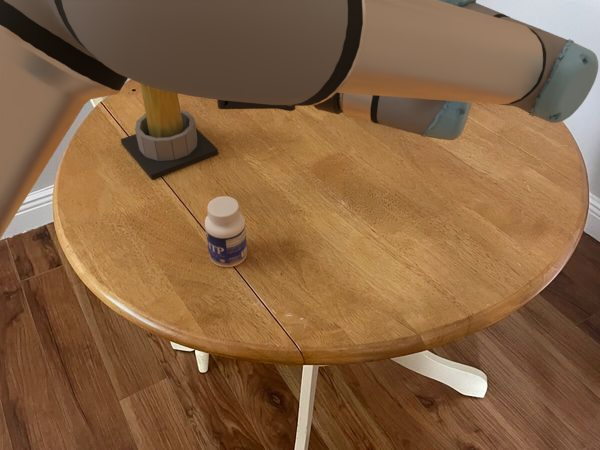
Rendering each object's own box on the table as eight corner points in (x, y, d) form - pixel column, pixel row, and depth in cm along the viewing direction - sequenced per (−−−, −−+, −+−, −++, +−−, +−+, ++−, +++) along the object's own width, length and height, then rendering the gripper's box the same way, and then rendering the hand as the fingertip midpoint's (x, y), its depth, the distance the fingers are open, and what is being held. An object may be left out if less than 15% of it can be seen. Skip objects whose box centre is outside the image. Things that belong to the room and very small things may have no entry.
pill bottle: (201, 253, 80) (193, 204, 74) (232, 235, 83) (227, 187, 77) (224, 274, 77) (218, 225, 71) (255, 255, 80) (252, 206, 74)
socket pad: (152, 180, 92) (146, 154, 89) (121, 144, 99) (115, 118, 96) (218, 154, 97) (215, 128, 94) (185, 121, 104) (181, 96, 101)
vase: (170, 159, 94) (155, 79, 85) (142, 147, 97) (125, 68, 87) (194, 140, 98) (183, 62, 88) (167, 129, 101) (153, 52, 91)
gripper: (309, 162, 70) (160, 120, 76) (377, 70, 87) (250, 43, 93) (310, 107, 65) (151, 68, 71) (382, 21, 81) (248, -4, 88)
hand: (207, 54), depth 82 cm, fingers open, 13 cm apart
